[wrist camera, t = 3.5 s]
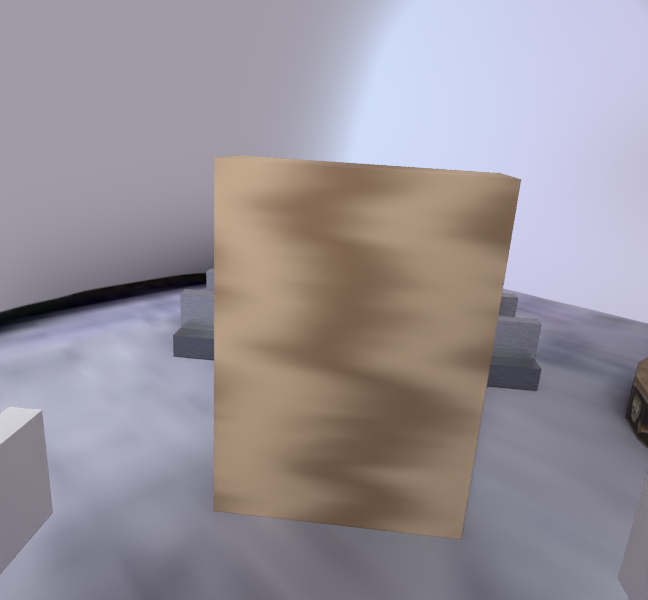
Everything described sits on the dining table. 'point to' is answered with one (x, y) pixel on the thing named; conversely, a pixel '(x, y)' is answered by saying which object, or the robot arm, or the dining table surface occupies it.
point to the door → (354, 338)
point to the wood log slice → (639, 403)
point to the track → (506, 362)
